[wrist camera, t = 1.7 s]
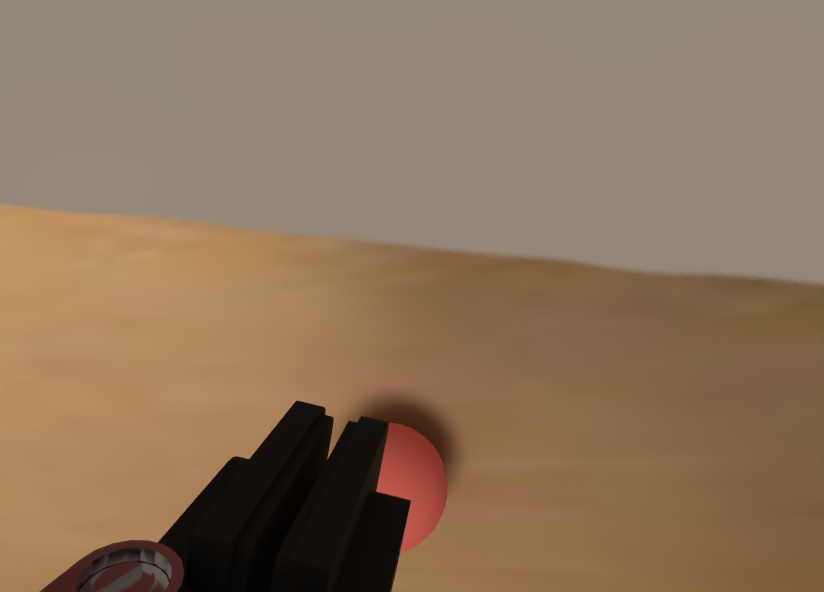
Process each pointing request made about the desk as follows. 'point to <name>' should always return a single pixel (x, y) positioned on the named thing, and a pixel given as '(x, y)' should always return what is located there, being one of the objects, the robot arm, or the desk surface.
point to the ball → (414, 480)
